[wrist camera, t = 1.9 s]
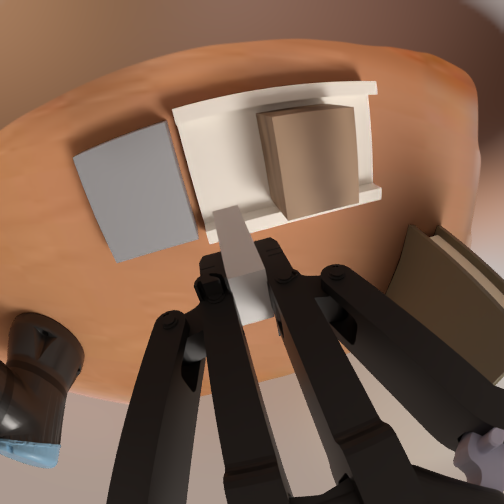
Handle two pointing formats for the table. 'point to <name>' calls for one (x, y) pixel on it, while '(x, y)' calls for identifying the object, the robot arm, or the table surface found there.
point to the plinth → (138, 192)
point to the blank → (310, 158)
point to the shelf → (260, 148)
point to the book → (453, 297)
